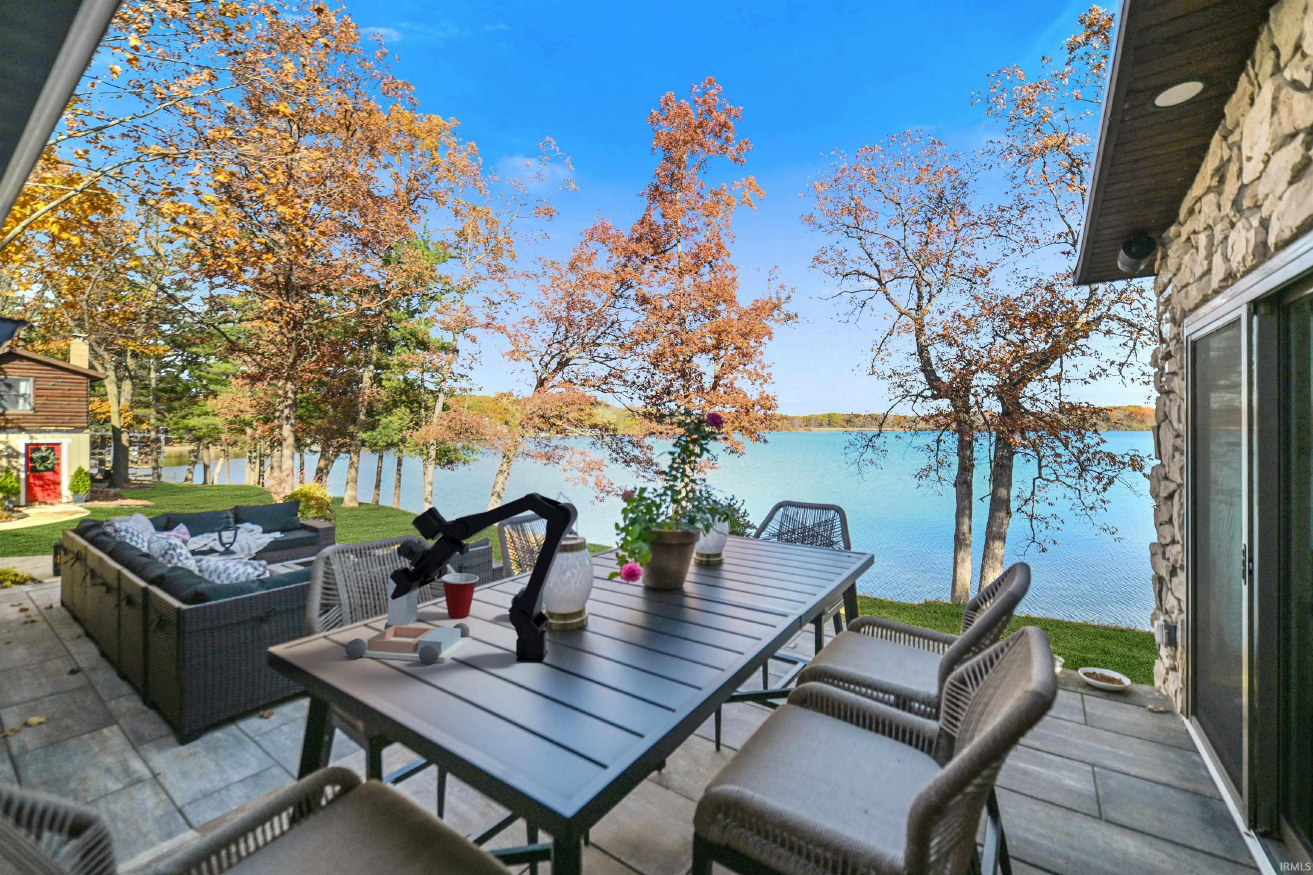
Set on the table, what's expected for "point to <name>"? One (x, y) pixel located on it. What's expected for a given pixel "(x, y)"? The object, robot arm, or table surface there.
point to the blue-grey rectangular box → (401, 606)
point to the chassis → (412, 643)
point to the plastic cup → (459, 593)
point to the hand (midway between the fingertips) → (398, 595)
